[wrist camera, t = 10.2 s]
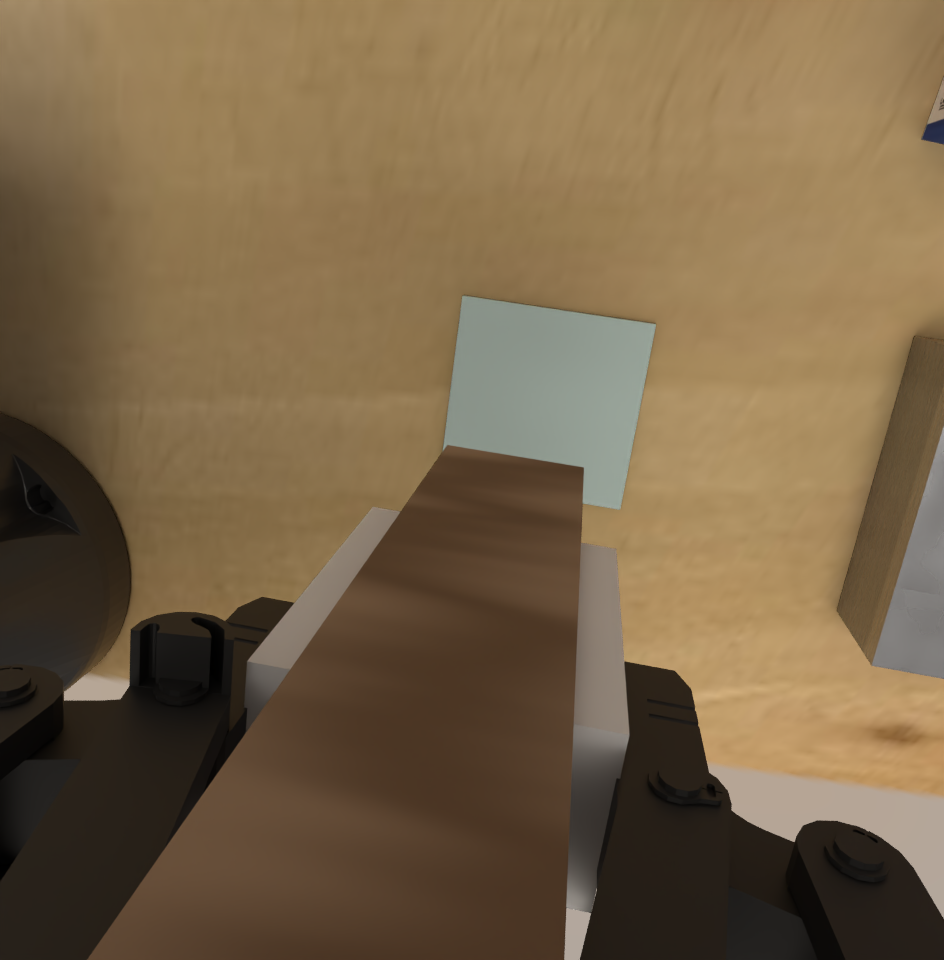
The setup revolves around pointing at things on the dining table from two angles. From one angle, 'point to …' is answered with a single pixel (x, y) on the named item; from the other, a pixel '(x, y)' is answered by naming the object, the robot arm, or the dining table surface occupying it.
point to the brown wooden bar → (401, 752)
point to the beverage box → (936, 120)
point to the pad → (550, 388)
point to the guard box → (904, 531)
